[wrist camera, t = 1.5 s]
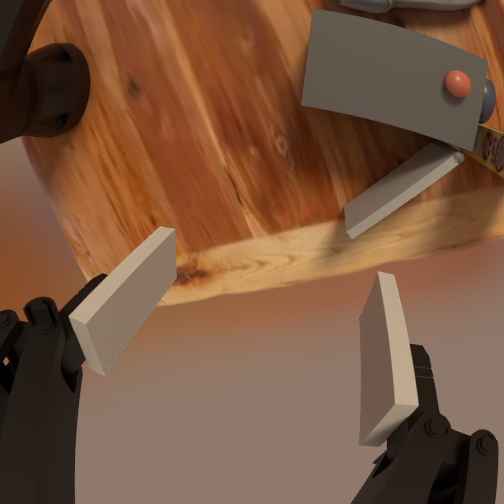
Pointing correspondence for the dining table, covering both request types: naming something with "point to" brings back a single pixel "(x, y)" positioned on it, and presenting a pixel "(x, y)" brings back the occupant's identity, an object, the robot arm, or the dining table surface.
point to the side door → (400, 186)
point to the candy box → (489, 148)
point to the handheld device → (407, 4)
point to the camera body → (396, 78)
